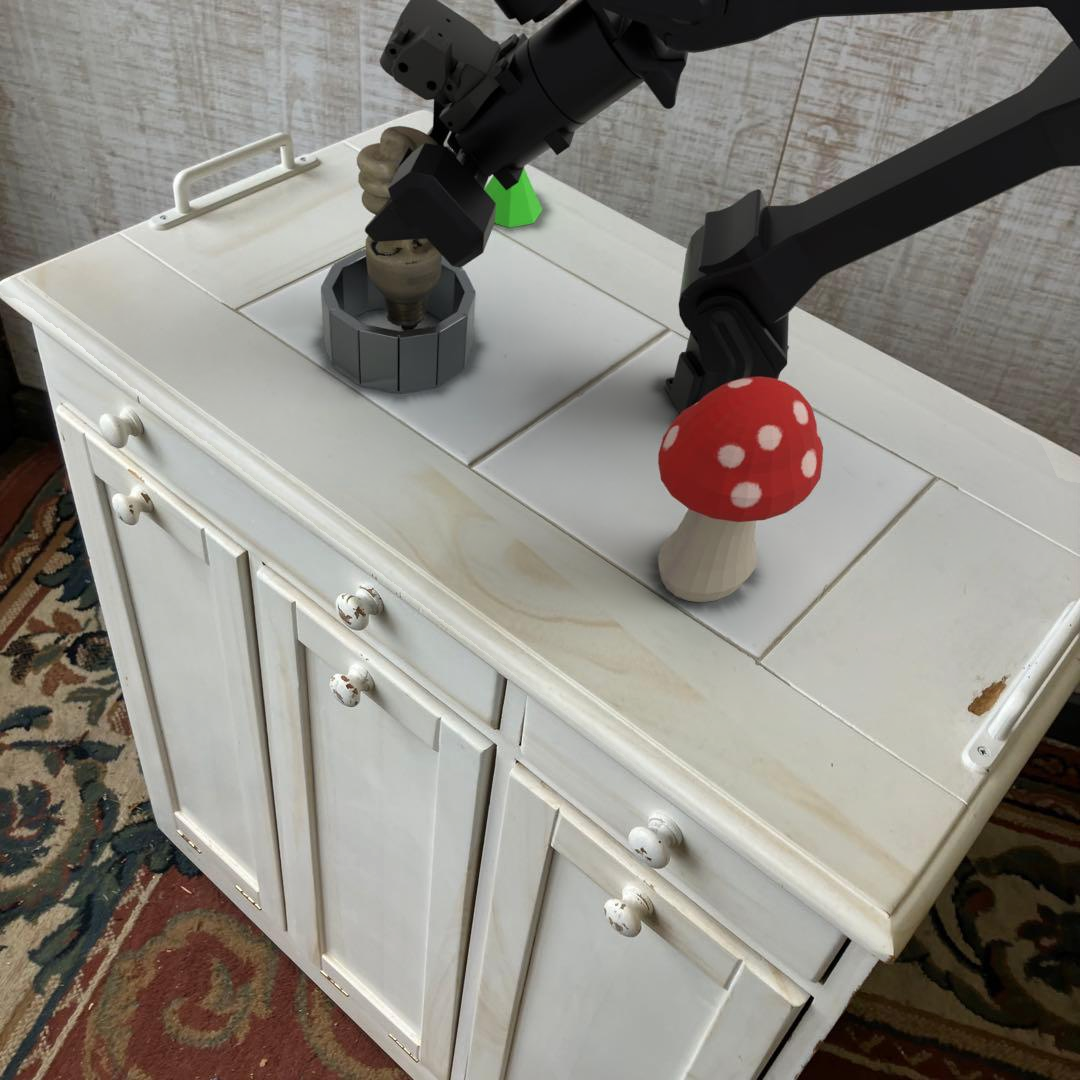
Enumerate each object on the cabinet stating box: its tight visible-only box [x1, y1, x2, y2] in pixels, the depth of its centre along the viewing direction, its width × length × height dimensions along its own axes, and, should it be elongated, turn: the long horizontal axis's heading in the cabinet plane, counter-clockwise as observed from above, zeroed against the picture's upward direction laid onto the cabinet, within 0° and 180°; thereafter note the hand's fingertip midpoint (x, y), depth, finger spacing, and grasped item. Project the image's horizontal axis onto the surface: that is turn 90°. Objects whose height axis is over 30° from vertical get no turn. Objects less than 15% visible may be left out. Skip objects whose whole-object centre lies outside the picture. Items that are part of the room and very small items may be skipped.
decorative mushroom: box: [657, 377, 824, 603], centre depth 64 cm, size 10×9×15 cm
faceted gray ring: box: [320, 248, 476, 394], centre depth 79 cm, size 11×11×5 cm
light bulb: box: [356, 125, 442, 331], centre depth 74 cm, size 6×6×15 cm
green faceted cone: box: [484, 168, 543, 228], centre depth 92 cm, size 6×6×6 cm
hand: (381, 212), depth 73 cm, fingers closed on light bulb, 5 cm apart
